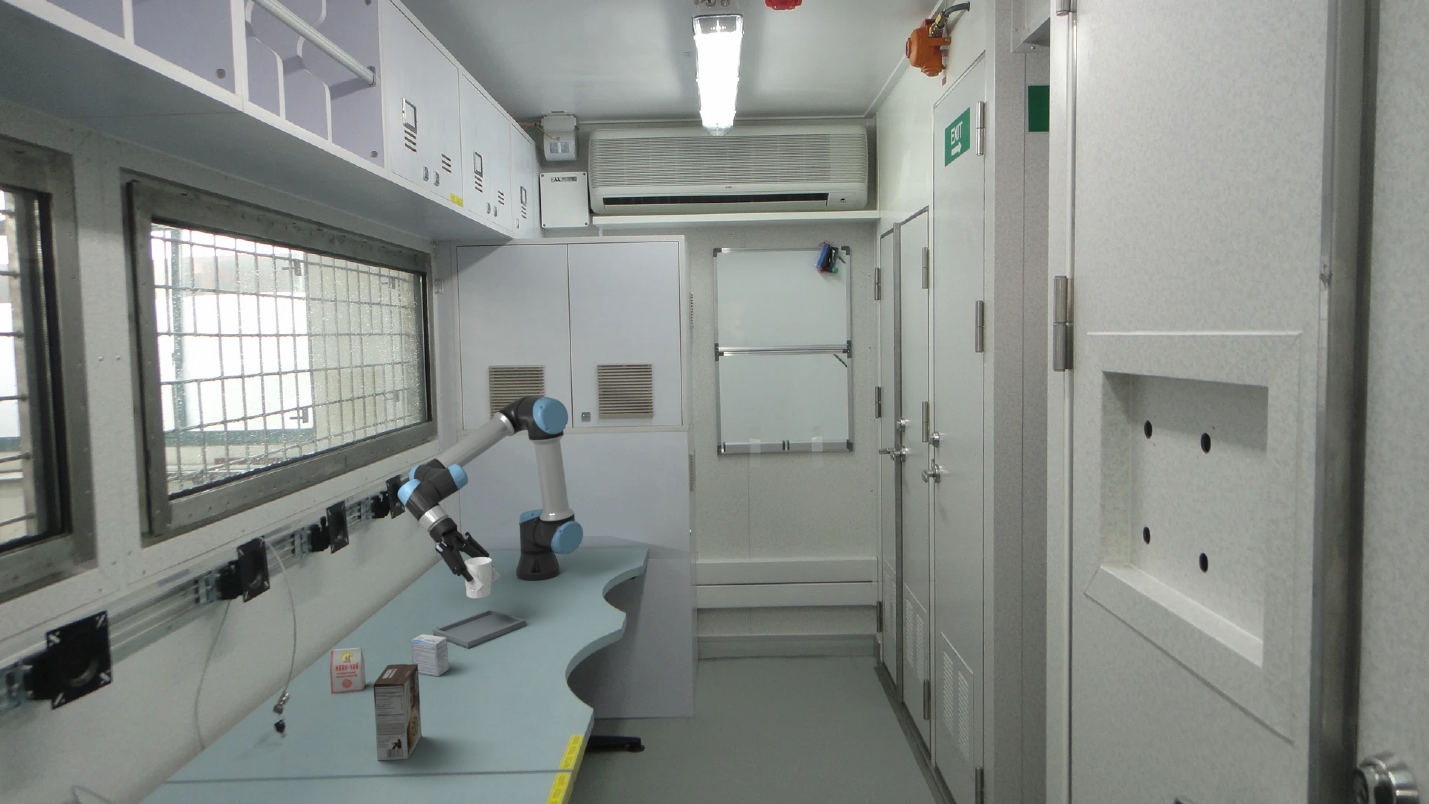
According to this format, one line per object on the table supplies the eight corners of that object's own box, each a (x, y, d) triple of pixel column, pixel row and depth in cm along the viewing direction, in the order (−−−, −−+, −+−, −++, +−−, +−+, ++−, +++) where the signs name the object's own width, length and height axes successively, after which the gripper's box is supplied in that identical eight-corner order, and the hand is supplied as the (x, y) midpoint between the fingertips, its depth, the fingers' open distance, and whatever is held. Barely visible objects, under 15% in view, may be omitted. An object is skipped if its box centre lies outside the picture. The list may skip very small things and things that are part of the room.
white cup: (497, 590, 222) (496, 557, 221) (486, 599, 214) (485, 565, 213) (471, 589, 223) (470, 556, 222) (459, 599, 215) (458, 564, 214)
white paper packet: (336, 686, 184) (333, 647, 183) (365, 684, 185) (363, 644, 184) (331, 693, 180) (329, 653, 180) (361, 691, 182) (359, 650, 181)
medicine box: (449, 670, 193) (448, 637, 192) (437, 677, 188) (436, 643, 188) (424, 665, 195) (422, 633, 194) (411, 673, 191) (410, 640, 190)
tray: (491, 614, 231) (490, 608, 231) (525, 625, 222) (525, 619, 221) (433, 635, 215) (432, 629, 215) (467, 648, 205) (467, 642, 205)
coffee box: (391, 737, 160) (387, 663, 159) (422, 735, 161) (419, 662, 159) (375, 761, 151) (371, 683, 150) (408, 759, 152) (405, 682, 150)
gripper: (453, 525, 231) (501, 580, 228) (408, 542, 212) (459, 603, 209) (467, 508, 229) (516, 565, 226) (423, 525, 210) (475, 586, 207)
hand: (488, 583), depth 217 cm, fingers closed on white cup, 8 cm apart
